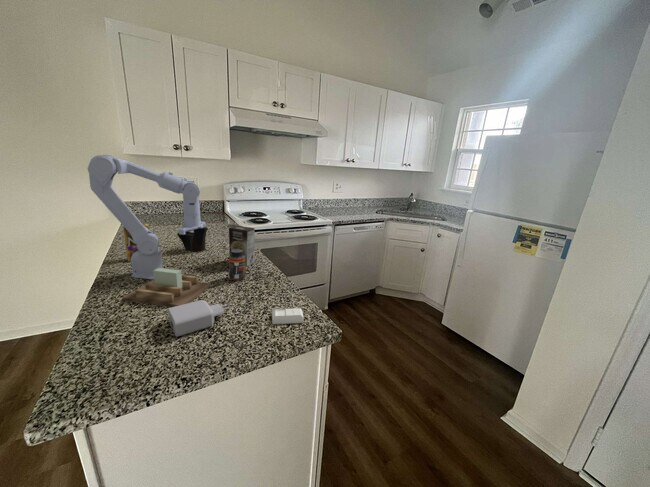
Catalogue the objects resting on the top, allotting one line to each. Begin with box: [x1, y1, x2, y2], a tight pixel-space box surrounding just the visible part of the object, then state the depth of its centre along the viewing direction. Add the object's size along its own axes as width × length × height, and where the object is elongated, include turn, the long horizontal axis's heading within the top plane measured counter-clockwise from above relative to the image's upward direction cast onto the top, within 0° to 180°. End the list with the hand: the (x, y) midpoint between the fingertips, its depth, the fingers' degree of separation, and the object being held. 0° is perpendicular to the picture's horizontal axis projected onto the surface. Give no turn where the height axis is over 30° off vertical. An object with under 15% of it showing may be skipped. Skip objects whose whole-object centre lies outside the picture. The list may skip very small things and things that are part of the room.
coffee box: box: [228, 225, 256, 267], centre depth 118 cm, size 9×6×16 cm
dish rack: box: [121, 274, 212, 308], centre depth 90 cm, size 20×16×4 cm
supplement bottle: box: [228, 249, 246, 282], centre depth 103 cm, size 6×6×11 cm
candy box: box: [122, 222, 151, 262], centre depth 114 cm, size 9×4×15 cm, turn 126°
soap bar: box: [271, 307, 305, 325], centre depth 80 cm, size 5×9×3 cm, turn 101°
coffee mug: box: [189, 231, 207, 253], centre depth 132 cm, size 12×9×10 cm
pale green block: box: [153, 267, 183, 290], centre depth 89 cm, size 8×2×7 cm, turn 83°
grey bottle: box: [167, 299, 230, 338], centre depth 76 cm, size 5×9×15 cm
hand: (194, 247), depth 107 cm, fingers open, 7 cm apart
